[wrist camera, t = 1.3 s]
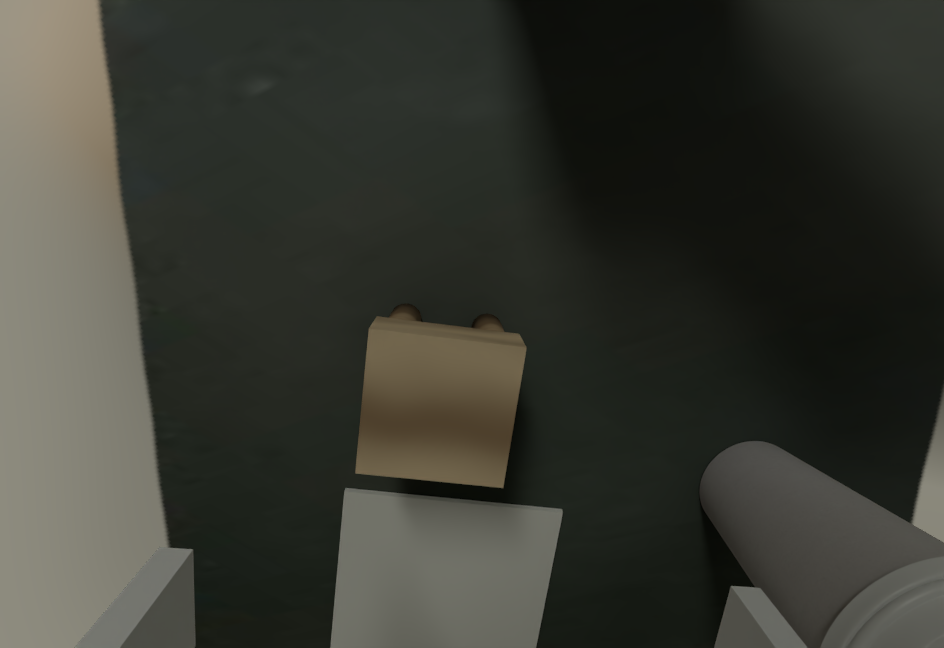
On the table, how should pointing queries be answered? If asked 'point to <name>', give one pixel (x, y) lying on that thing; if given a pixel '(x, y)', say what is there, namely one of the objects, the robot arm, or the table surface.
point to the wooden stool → (439, 399)
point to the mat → (441, 572)
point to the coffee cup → (826, 552)
